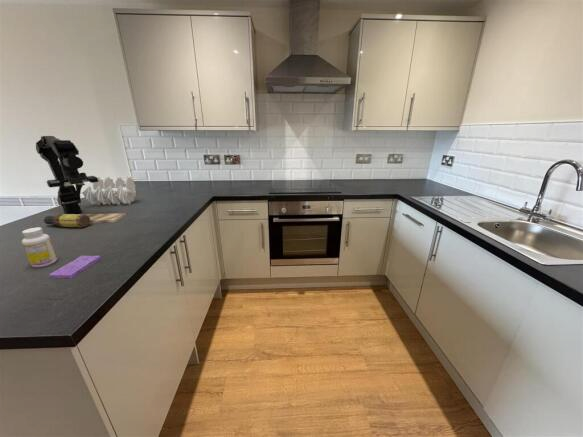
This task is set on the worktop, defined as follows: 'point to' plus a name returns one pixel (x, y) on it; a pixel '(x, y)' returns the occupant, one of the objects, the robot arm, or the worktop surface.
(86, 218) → the sauce bottle
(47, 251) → the supplement bottle
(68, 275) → the sponges
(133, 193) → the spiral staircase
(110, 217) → the beech cutting board
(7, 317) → the worktop surface
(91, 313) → the worktop surface
